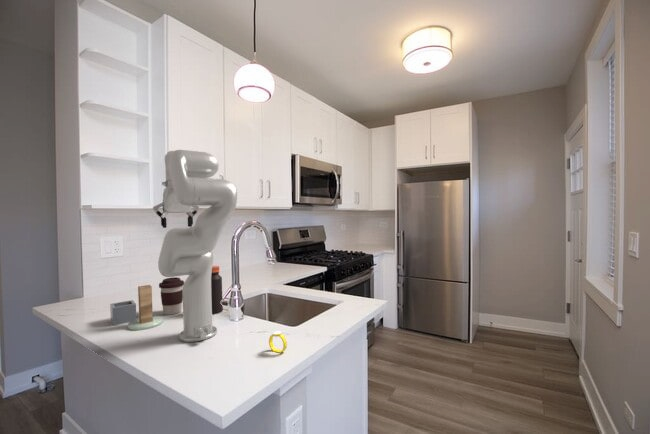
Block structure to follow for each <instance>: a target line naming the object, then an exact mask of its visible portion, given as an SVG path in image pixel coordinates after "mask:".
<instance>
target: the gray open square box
mask: <svg viewBox="0 0 650 434" xmlns="http://www.w3.org/2000/svg"><path fill="white" fill-rule="evenodd" d="M109 307H110V309H109V311H110V323H111V324H112V326H118V325H122V324H129V323H130V322H132V321H134V320H137V303H136V302H135V301H134V300H133V299H131V300H125V301H119V302H114V303H110V304H109Z"/></svg>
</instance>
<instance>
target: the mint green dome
mask: <svg viewBox="0 0 650 434" xmlns="http://www.w3.org/2000/svg"><path fill="white" fill-rule="evenodd" d="M163 323H164V319H163V317H162V316H156V315H155V316H153V322H149V323H144V324H141V323H140V322H139V318H136V320H134V321H132V322H128V323H127V330H130V331H144V330H149V329H153V328H155V327H156V328H157V327H158V326H161V325H162V324H163Z"/></svg>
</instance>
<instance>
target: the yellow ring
mask: <svg viewBox="0 0 650 434" xmlns="http://www.w3.org/2000/svg"><path fill="white" fill-rule="evenodd" d="M274 337H276V338H277V337H279V338H280V339H281V341H282V343H283V347H282V349H278V348H276V347H275V346H274V342H273V338H274ZM287 342H288V341H287V339H286V337H285V336H284V334H283V333H282V331H280V330H277V331H274V332H273V333H272V334H271V335H270V336H269V339H268V344H269V348H270V350H271V351H272V352H274V353H279V354H282V353H283V352H284V351H286V349H287V348H288V347H287V346H288V343H287Z"/></svg>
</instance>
